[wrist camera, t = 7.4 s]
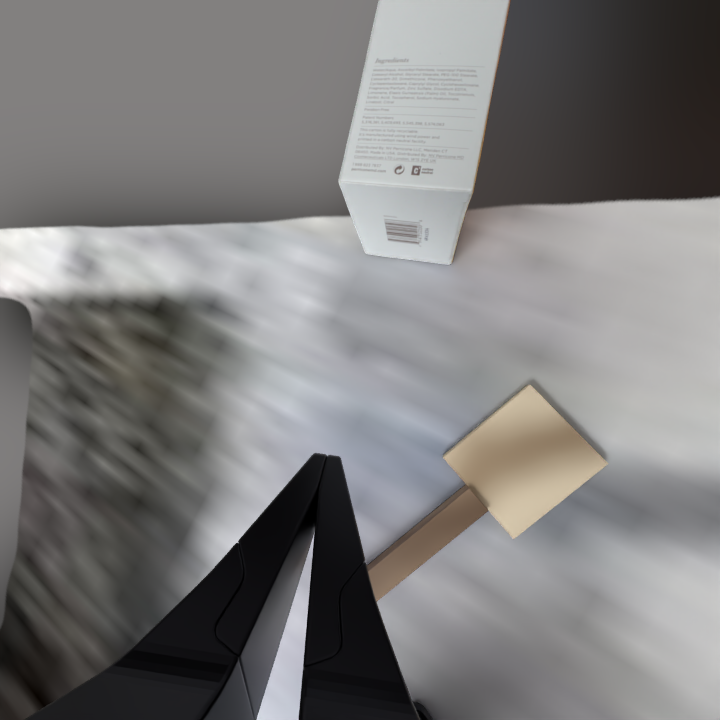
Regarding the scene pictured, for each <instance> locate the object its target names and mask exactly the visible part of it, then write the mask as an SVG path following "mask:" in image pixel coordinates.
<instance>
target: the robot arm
mask: <svg viewBox="0 0 720 720" xmlns="http://www.w3.org/2000/svg"><path fill="white" fill-rule="evenodd" d="M314 531H315V534H314ZM313 535H314V546H313V558H312V570H311V581H310V593H309V605H308V617H307V629H306V641H305V653H304V665H303V677H302V688H301V699H300V710H299V720H433V719H432V718H431V717H430V715H429V714H428V712H427V711H426V709H425V708H424V707H423V706H422V705H421V704H419V703H413V702H412V699H411V697H410V694H409V692H408V689H407V686H406V684H405V681H404V678H403V676H402V673H401V670H400V667H399V665H398V662H397V659H396V656H395V654H394V651H393V648H392V645H391V643H390V640H389V637H388V634H387V632H386V629H385V626H384V623H383V620H382V617H381V614H380V611H379V608H378V605H377V602H376V599H375V596H374V592H373V588H372V585H371V581H370V577H369V573H368V569H367V565H366V563H365V557H364V553H363V549H362V544H361V540H360V536H359V532H358V528H357V524H356V519H355V515H354V511H353V507H352V503H351V499H350V494H349V490H348V486H347V482H346V478H345V474H344V469H343V465H342V461H341V458H340V457H339V456H334V455H328V456H327V455H326V454H320V453H314V454H313V455H312V456H311V457H310V458H309V460H308V461H307V462H306V463H305V464H304V465H303V466H302V468H301V469H300V470H299V471H298V472H297V473H296V475H295V476H294V477H293V478H292V479H291V480H290V482H289V483H288V484H287V485H286V486H285V487H284V488H283V490H282V491H281V492H280V493H279V494H278V495H277V497H276V498H275V499H274V500H273V501H272V502H271V503H270V505H269V506H268V507H267V508H266V509H265V510H264V512H263V513H262V514H261V515H260V516H259V517H258V519H257V520H256V521H255V522H254V523H253V524H252V525H251V527H250V528H249V529H248V530H247V531H246V532H245V534H244V535H243V536H242V537H241V538H240V539H239V541H238V542H239V543H236V544H235V545H234V546H233V547H232V548H231V550H230V551H229V552H228V553H227V554H226V555H225V557H224V558H223V559H222V560H221V561H220V562H219V563H218V564H217V565H216V566H215V568H214V569H213V570H212V571H211V572H210V573H209V574H208V575H207V576H206V577H205V578H204V579H203V580H202V581H201V582H200V583H199V584H198V585H197V586H196V587H195V588H194V589H193V590H192V591H191V592H190V593H189V594H188V595H187V596H186V597H185V598H184V599H183V600H182V601H181V602H180V603H179V604H178V605H176V606H175V607H174V608H173V609H172V610H171V611H170V612H169V613H168V614H167V615H166V616H165V617H164V618H163V619H162V620H161V621H160V622H159V623H158V624H157V625H156V626H155V627H154V628H153V629H151V630H150V631H149V632H148V633H147V634H146V635H145V636H144V637H143V638H142V639H141V640H140V641H139V642H138V643H137V644H136V645H135V646H134V647H133V648H131V649H130V650H129V651H128V652H127V653H126V654H125V655H123V656H122V657H121V658H120V659H118V660H117V661H116V662H115V663H113V664H112V665H111V666H109V667H108V668H106V669H105V670H104V671H102V672H101V673H99V674H98V675H96V676H95V677H93V678H91V679H90V680H88V681H86V682H85V683H83V684H82V685H80V686H78V687H77V688H75V689H73V690H72V691H70V692H68V693H67V694H65V695H64V696H62V697H60V698H59V699H57V700H55V701H54V702H52V703H50V704H49V705H47V706H46V707H44V708H42V709H41V710H39V711H37V712H36V713H34V714H32V715H31V716H29V717H28V718H26V719H24V720H256V719H257V715H258V712H259V709H260V706H261V702H262V699H263V696H264V693H265V690H266V686H267V683H268V680H269V677H270V673H271V670H272V667H273V664H274V661H275V657H276V654H277V651H278V648H279V645H280V641H281V638H282V635H283V632H284V628H285V625H286V622H287V619H288V616H289V612H290V609H291V606H292V603H293V599H294V596H295V593H296V590H297V587H298V583H299V580H300V577H301V574H302V570H303V567H304V564H305V561H306V558H307V554H308V551H309V548H310V545H311V542H312V538H313ZM419 715H420V717H419Z"/></svg>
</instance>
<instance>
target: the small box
mask: <svg viewBox="0 0 720 720" xmlns="http://www.w3.org/2000/svg"><path fill="white" fill-rule="evenodd" d="M510 1H511V0H379V1H378V6H377V10H376V15H375V19H374V24H373V28H372V33H371V38H370V42H369V47H368V52H367V56H366V61H365V66H364V70H363V75H362V80H361V85H360V89H359V93H358V98H357V102H356V107H355V111H354V115H353V120H352V124H351V128H350V132H349V136H348V141H347V145H346V150H345V154H344V159H343V164H342V168H341V172H340V176H339V180H338V181H339V185H340V188H341V190H342V193H343V195H344V198H345V201H346V203H347V206H348V209H349V212H350V215H351V217H352V220H353V223H354V225H355V228H356V230H357V233H358V236H359V238H360V241H361V244H362V246H363V249H364V252H365V253H366V254H370V255H376V256H383V257H391V258H399V259H407V260H415V261H423V262H430V263H437V264H445V265H450V264H451V263H452V261H453V258H454V253H455V249H456V245H457V242H458V238H459V234H460V231H461V228H462V224H463V221H464V217H465V214H466V211H467V208H468V205H469V202H470V200H471V197H472V194H473V192H474V187H475V182H476V177H477V172H478V167H479V163H480V157H481V152H482V147H483V142H484V136H485V131H486V125H487V119H488V114H489V108H490V103H491V98H492V93H493V88H494V83H495V78H496V72H497V68H498V63H499V58H500V52H501V47H502V42H503V37H504V32H505V27H506V22H507V17H508V11H509V6H510Z"/></svg>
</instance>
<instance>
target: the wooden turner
mask: <svg viewBox="0 0 720 720" xmlns="http://www.w3.org/2000/svg"><path fill="white" fill-rule="evenodd" d="M443 458H444V459H445V460H446V461H447V463H448V464H449V465H450V466H451V467H452V468H453V470H454V471H455V472H456V473H457V474H458V475H459V477H460V478H461V479H462V480H463V481H464V482H465V483H466V484H465V485H464V486H463V487H462V488H461V489H459V490H458V491H457V492H456V493H455V494H453V495H452V496H451V497H450V498H448V499H447V500H446V501H445V502H444V503H442V504H441V505H440V506H439V507H438V508H436V509H435V510H434V511H433V512H431V513H430V514H429V515H428V516H427V517H425V518H424V519H423V520H422V521H421V522H419V523H418V524H417V525H416V526H415V527H413V528H412V529H411V530H410V531H408V532H407V533H406V534H405V535H404V536H402V537H401V538H400V539H399V540H398V541H396V542H395V543H394V544H393V545H391V546H390V547H389V548H388V549H387V550H385V551H384V552H383V553H382V554H381V555H379V556H378V557H377V558H376V559H375V560H373V561H372V562H371V563H370V564H368V565H367V569H368V573H369V577H370V581H371V585H372V588H373V592H374V596H375V599H376V602H377V601H378V600H379V599H380V598H382V597H383V596H384V595H385V594H387V593H388V592H389V591H390V590H391V589H393V588H394V587H395V586H396V585H398V584H399V583H400V582H401V581H403V580H404V579H405V578H406V577H407V576H409V575H410V574H411V573H412V572H414V571H415V570H416V569H417V568H419V567H420V566H421V565H422V564H423V563H425V562H426V561H427V560H428V559H430V558H431V557H432V556H433V555H435V554H436V553H437V552H438V551H439V550H441V549H442V548H443V547H444V546H446V545H447V544H448V543H449V542H451V541H452V540H453V539H454V538H455V537H457V536H458V535H459V534H460V533H462V532H463V531H464V530H465V529H467V528H468V527H469V526H470V525H471V524H473V523H474V522H475V521H476V520H478V519H479V518H480V517H481V516H483V515H484V514H485V513H486V512H487V511H488V510H489V511H490V513H491V514H492V515H493V516H494V517H495V518H496V520H497V521H498V522H499V523H500V524H501V525H502V526H503V528H504V529H505V530H506V531H507V532H508V533H509V535H510V536H511V537H512V538H513V539H515V538H516V537H517V536H519V535H520V534H521V533H522V532H524V531H525V530H526V529H527V528H529V527H530V526H531V525H532V524H534V523H535V522H536V521H537V520H539V519H540V518H541V517H542V516H544V515H545V514H546V513H547V512H549V511H550V510H551V509H552V508H554V507H555V506H556V505H557V504H559V503H560V502H561V501H562V500H564V499H565V498H566V497H567V496H569V495H570V494H571V493H572V492H574V491H575V490H576V489H577V488H579V487H580V486H581V485H582V484H584V483H585V482H586V481H587V480H589V479H590V478H591V477H592V476H594V475H595V474H596V473H597V472H599V471H600V470H601V469H602V468H604V467H605V466H606V465H607V464H608V463H607V462H606V461H605V460H604V459H603V458H602V457H601V456H600V455H599V454H598V453H597V452H596V451H595V450H594V449H593V448H592V447H591V446H590V445H589V444H588V443H587V442H586V441H585V440H584V439H583V437H582V436H581V435H580V434H579V433H578V432H577V431H576V430H575V429H574V428H573V427H572V426H571V425H570V424H569V423H568V422H567V421H566V420H565V419H564V418H563V417H562V416H561V415H560V414H559V413H558V412H557V411H556V410H555V409H554V408H553V407H552V406H551V405H550V404H549V403H548V402H547V401H546V400H545V399H544V398H543V397H542V396H541V395H540V394H539V393H538V392H537V391H536V390H535V389H534V388H533V387H532V386H531V385H527V386H526V387H524V388H523V389H522V390H521V391H520V392H518V393H517V394H516V395H515V396H514V397H512V398H511V399H510V400H509V401H508V402H506V403H505V404H504V405H503V406H502V407H500V408H499V409H498V410H497V411H496V412H494V413H493V414H492V415H491V416H490V417H488V418H487V419H486V420H485V421H484V422H482V423H481V424H480V425H479V426H478V427H476V428H475V429H474V430H473V431H472V432H470V433H469V434H468V435H467V436H466V437H464V438H463V439H462V440H461V441H460V442H458V443H457V444H456V445H455V446H454V447H452V448H451V449H450V450H449V451H448V452H446V453H445V454H444V455H443Z"/></svg>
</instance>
